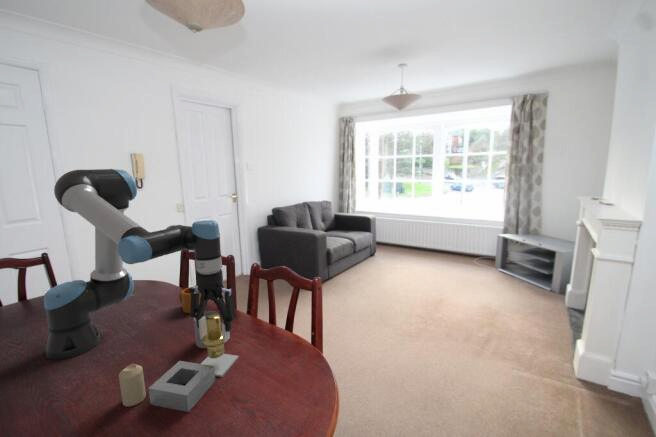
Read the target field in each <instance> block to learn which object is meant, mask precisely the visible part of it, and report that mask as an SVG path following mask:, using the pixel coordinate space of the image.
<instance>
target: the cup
mask: <svg viewBox="0 0 656 437" xmlns="http://www.w3.org/2000/svg"><path fill="white" fill-rule="evenodd" d="M204 314H205V315H203V316H202V317H204V316H205V317H206V325H207V317H208V316H210V315H213V314H218V315H219V314H220V313H218V312H217V311H214V310H212V311H211V310H208V311H204ZM193 323H194V324H193V326H194V335H195V336H194V337H195V346H196V347H197V348H200V349H207V347H205V346H204V345H203V343H202V339H200V332H199V328H198V327H197V320H196V318H195V317H193ZM207 334H208V330H207Z"/></svg>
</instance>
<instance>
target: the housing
mask: <svg viewBox="0 0 656 437" xmlns="http://www.w3.org/2000/svg"><path fill="white" fill-rule="evenodd" d="M215 382H216V376H215V371H214V366H210V365H203V364H201V363H196V362H191V361H183V360H179V361H177V362H176V363H175V364H174V365H172V367H170V369H168V370H167V371H166V372H165V373H164V374H163V375H161V377H159V378H158V379H157V380H156V381H155V382H154V383H152V384H151V385H150V386H149V387H148V395H149V403H150V405H151V406H154V407H161V408H166V409H172V410H176V411H181V412H186V413H189V412H190V411H191V410H192V409H193V408H194V407H195V405H196V404H197V403H198V402H199V401H200V400H201V398H202V397H203V396H204V395H205V394H206V393H207V391H208V390H209V389H210V388H211V386H213V384H214V383H215ZM183 384H185V385H183Z"/></svg>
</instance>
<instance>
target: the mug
mask: <svg viewBox="0 0 656 437" xmlns="http://www.w3.org/2000/svg"><path fill="white" fill-rule="evenodd" d="M192 287H193V286H191V287H186V288H183V289H182V290H180V291H179V294H178V300H179V303H180V305H181V306H182V311H183V313H187V314H190V309H191V293H190V288H192ZM200 298H201V293H200V292H199V304H200Z"/></svg>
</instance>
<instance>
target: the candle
mask: <svg viewBox="0 0 656 437" xmlns="http://www.w3.org/2000/svg"><path fill="white" fill-rule="evenodd" d="M144 377H145V376H144V369H143V366H141V365H139V364H135V362H134V363H130V364H129V365H128V366H126V367H125V368H123V369H122V370H121V371H119V374H118V380H119V381H118V382H119V388H120V393H121V394H120V396H121V401H122V405H123V406H124V407H128V408H129V407H133V406H136V405H138V404H140V403H142V402H143V401H144V400H145V399H146V396H147V395H146V394H147V393H146V392H147V391H146V384H145V378H144Z"/></svg>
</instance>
